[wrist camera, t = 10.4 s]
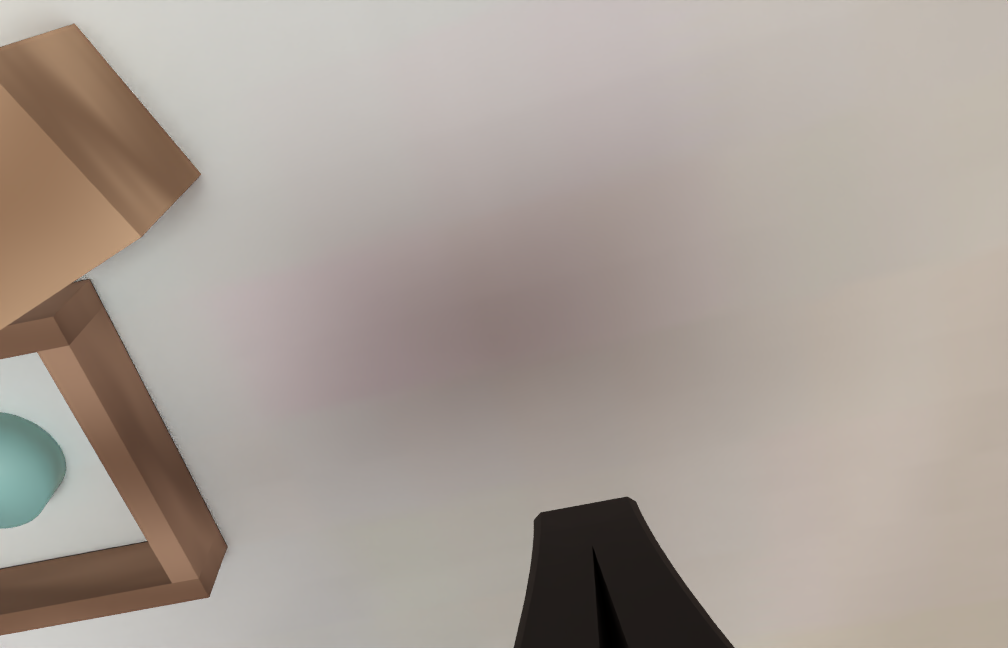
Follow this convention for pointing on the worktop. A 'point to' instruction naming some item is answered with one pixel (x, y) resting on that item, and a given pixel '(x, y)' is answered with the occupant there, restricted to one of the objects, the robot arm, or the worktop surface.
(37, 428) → the teal disc
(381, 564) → the worktop surface
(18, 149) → the beech block
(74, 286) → the frame
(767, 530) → the worktop surface
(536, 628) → the robot arm
